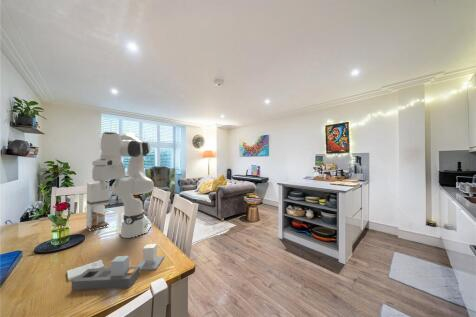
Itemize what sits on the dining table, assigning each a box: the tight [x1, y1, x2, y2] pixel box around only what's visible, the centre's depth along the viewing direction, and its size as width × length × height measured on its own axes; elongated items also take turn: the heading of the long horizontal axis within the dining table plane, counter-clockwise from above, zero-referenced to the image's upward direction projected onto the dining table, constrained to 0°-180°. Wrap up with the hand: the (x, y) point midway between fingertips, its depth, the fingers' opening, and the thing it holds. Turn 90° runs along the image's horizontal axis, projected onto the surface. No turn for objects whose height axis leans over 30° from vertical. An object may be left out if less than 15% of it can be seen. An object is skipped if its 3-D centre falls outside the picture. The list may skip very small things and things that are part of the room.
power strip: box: [71, 266, 141, 292], centre depth 72 cm, size 8×22×4 cm, turn 94°
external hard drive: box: [66, 259, 105, 282], centre depth 80 cm, size 2×8×12 cm
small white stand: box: [85, 181, 110, 230], centre depth 134 cm, size 11×11×35 cm
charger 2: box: [142, 243, 158, 264], centre depth 85 cm, size 4×5×8 cm
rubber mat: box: [135, 256, 165, 272], centre depth 85 cm, size 10×10×1 cm
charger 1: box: [110, 255, 130, 276], centre depth 72 cm, size 4×5×6 cm
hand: (110, 188), depth 90 cm, fingers open, 8 cm apart
